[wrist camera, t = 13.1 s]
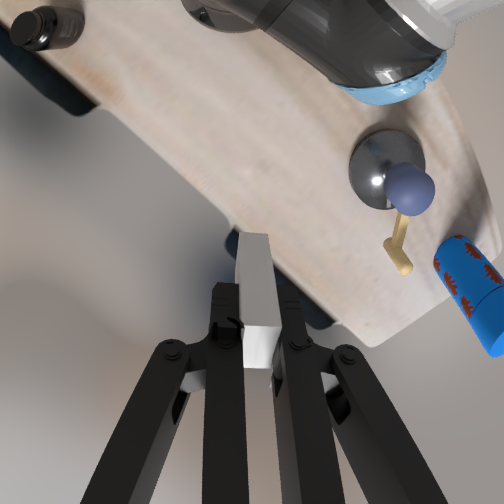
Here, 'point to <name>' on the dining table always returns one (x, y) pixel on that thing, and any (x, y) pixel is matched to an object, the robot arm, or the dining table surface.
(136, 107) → the dining table surface
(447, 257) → the thermos
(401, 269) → the blue crank handle
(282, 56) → the dining table surface
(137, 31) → the dining table surface
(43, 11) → the supplement bottle
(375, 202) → the post base
